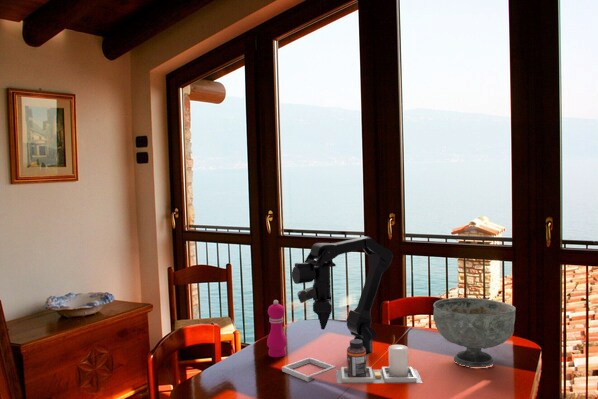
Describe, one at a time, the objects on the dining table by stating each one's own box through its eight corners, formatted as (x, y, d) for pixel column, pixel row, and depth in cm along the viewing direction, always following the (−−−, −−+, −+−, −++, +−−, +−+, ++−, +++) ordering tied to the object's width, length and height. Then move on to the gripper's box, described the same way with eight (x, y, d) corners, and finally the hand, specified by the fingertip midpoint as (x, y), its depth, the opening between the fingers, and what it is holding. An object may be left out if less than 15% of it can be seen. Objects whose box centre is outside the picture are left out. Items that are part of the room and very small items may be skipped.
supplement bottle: (345, 373, 171) (345, 338, 170) (364, 372, 171) (363, 337, 171) (349, 380, 165) (348, 344, 164) (368, 379, 165) (367, 343, 165)
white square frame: (309, 361, 186) (309, 357, 185) (335, 370, 176) (335, 366, 176) (282, 371, 177) (281, 366, 177) (307, 381, 168) (307, 376, 168)
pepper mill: (284, 358, 189) (283, 302, 188) (264, 357, 191) (263, 302, 190) (289, 351, 196) (287, 297, 195) (270, 350, 198) (268, 297, 197)
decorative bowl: (427, 369, 174) (429, 308, 173) (435, 346, 198) (437, 292, 197) (515, 381, 165) (517, 317, 164) (512, 356, 189) (514, 300, 188)
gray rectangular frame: (416, 373, 173) (416, 365, 172) (422, 386, 162) (422, 379, 161) (336, 373, 174) (335, 366, 174) (336, 387, 163) (336, 379, 163)
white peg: (396, 371, 172) (396, 343, 171) (412, 376, 167) (411, 347, 167) (385, 376, 168) (384, 347, 167) (400, 381, 163) (400, 352, 163)
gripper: (299, 275, 192) (300, 318, 193) (297, 286, 174) (298, 333, 175) (330, 274, 192) (331, 317, 193) (331, 286, 173) (332, 333, 174)
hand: (323, 325), depth 183 cm, fingers open, 9 cm apart
